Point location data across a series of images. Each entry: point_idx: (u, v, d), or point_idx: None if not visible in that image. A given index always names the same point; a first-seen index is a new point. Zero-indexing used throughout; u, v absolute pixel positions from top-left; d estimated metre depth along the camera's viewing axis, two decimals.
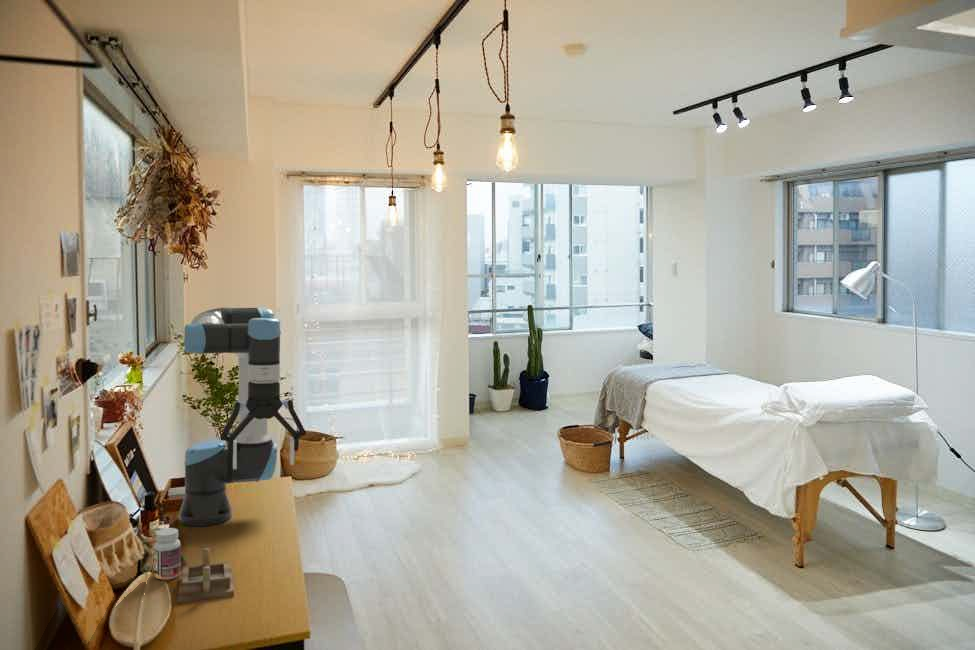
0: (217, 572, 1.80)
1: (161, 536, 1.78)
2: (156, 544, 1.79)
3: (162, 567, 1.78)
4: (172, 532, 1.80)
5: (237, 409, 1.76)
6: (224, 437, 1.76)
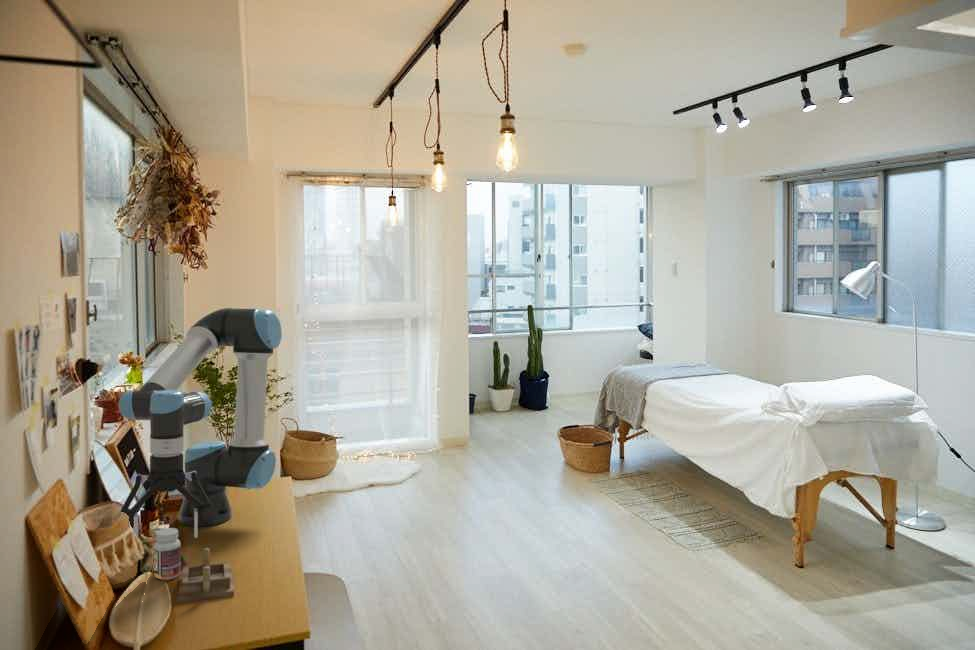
0: (217, 572, 1.80)
1: (161, 536, 1.78)
2: (156, 544, 1.79)
3: (162, 567, 1.78)
4: (172, 532, 1.80)
5: (138, 483, 1.76)
6: (124, 511, 1.75)
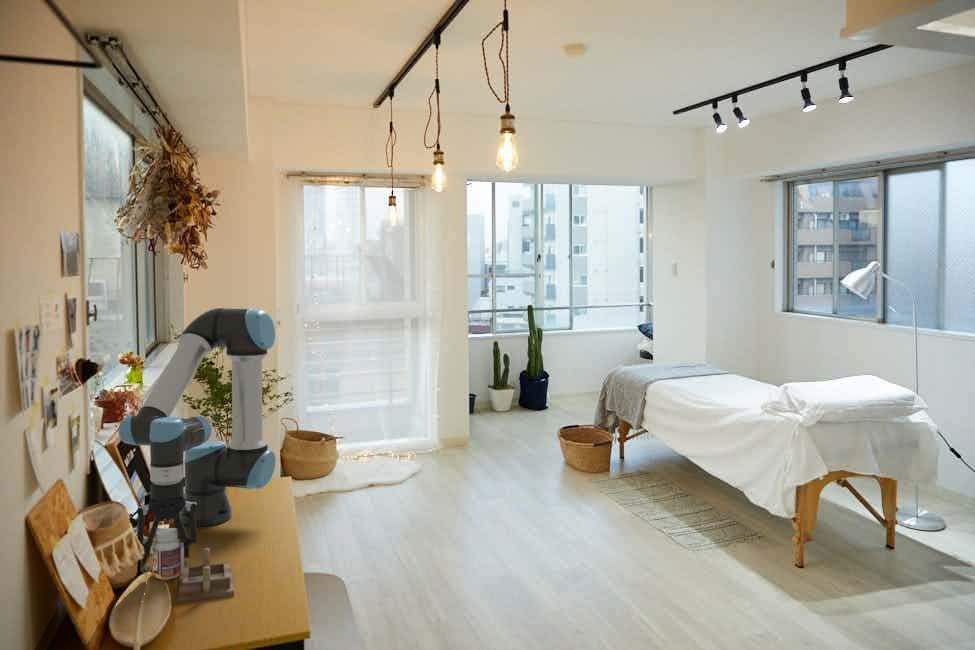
0: (217, 572, 1.80)
1: (161, 536, 1.78)
2: (156, 544, 1.79)
3: (162, 567, 1.78)
4: (172, 532, 1.80)
5: (141, 515, 1.77)
6: None
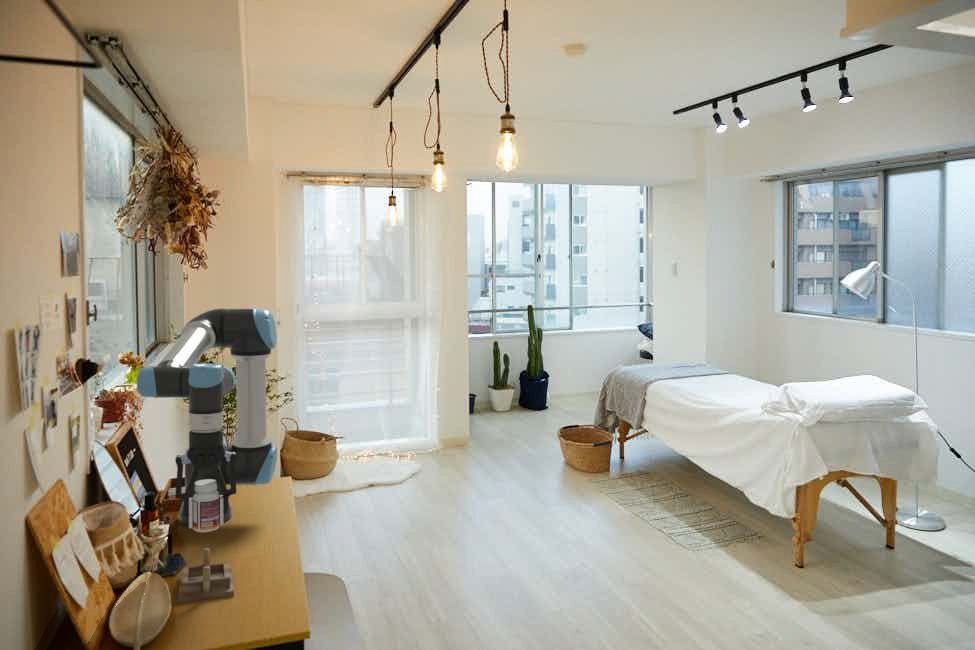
0: (217, 572, 1.80)
1: (200, 487, 1.71)
2: (195, 495, 1.72)
3: (201, 518, 1.71)
4: (211, 482, 1.73)
5: (180, 464, 1.70)
6: (179, 495, 1.70)
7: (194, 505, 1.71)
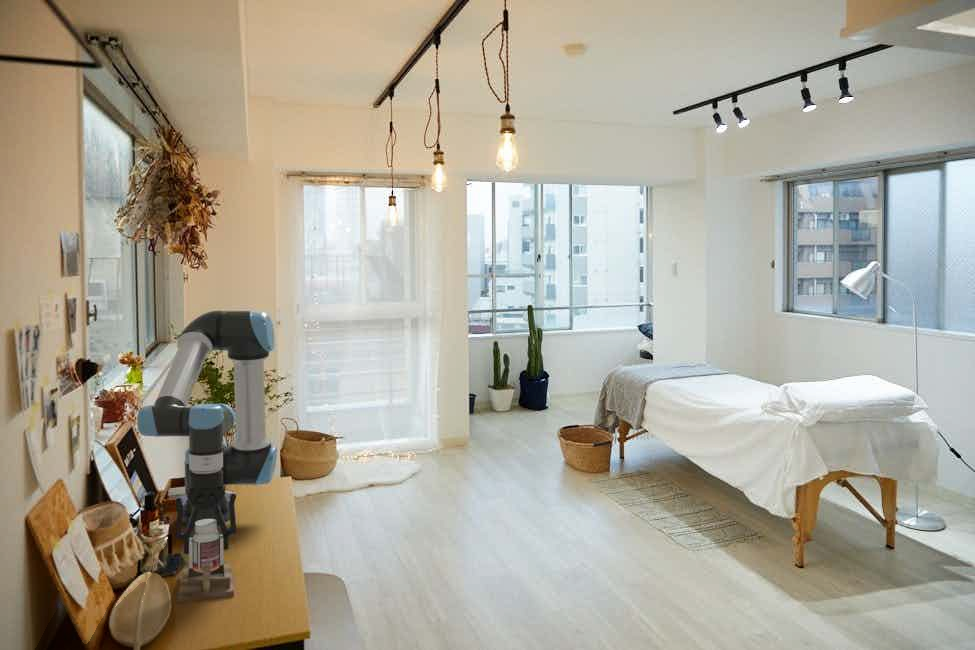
0: (217, 572, 1.80)
1: (201, 527, 1.72)
2: (195, 535, 1.72)
3: (201, 559, 1.72)
4: (211, 523, 1.74)
5: (180, 505, 1.71)
6: (179, 536, 1.71)
7: (194, 545, 1.72)
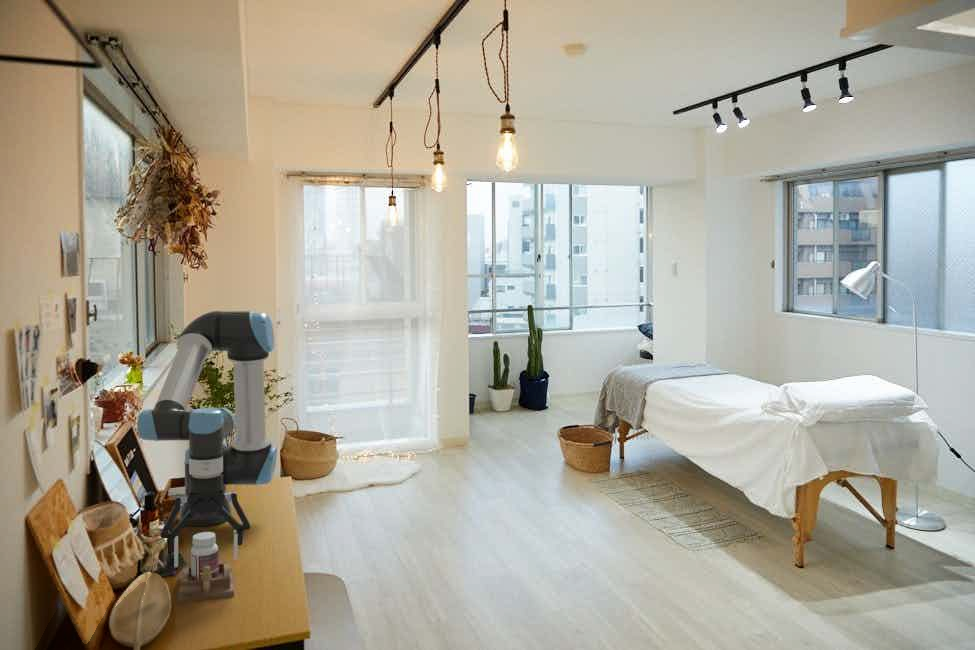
0: None
1: (199, 541, 1.72)
2: (193, 549, 1.73)
3: (200, 572, 1.72)
4: (209, 536, 1.74)
5: (177, 505, 1.70)
6: (164, 535, 1.70)
7: (193, 559, 1.72)
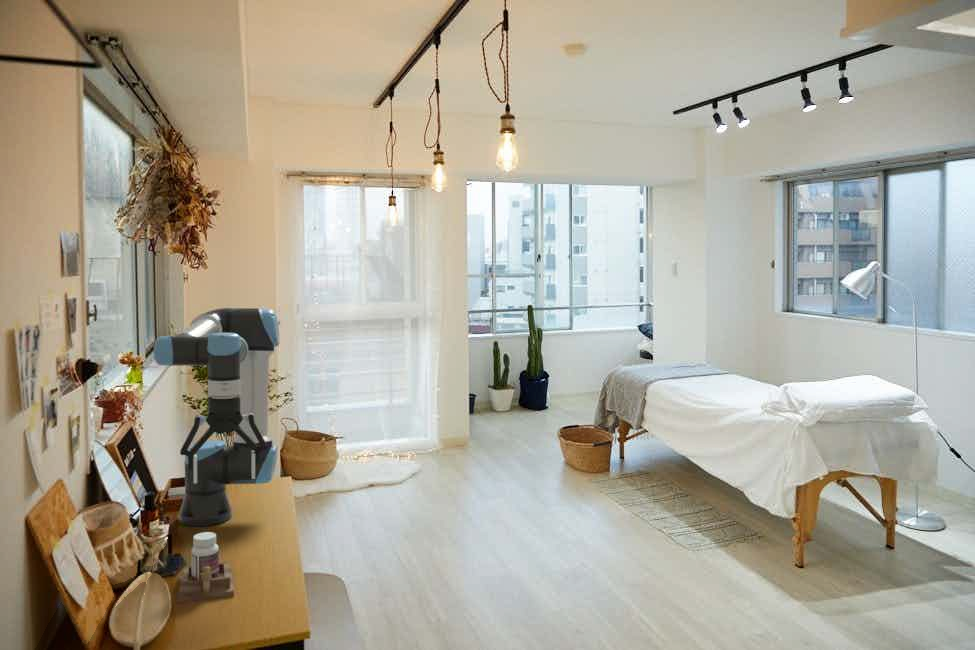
0: None
1: (200, 541, 1.72)
2: (194, 549, 1.73)
3: (200, 572, 1.72)
4: (210, 536, 1.74)
5: (197, 424, 1.77)
6: (184, 452, 1.77)
7: (193, 559, 1.72)
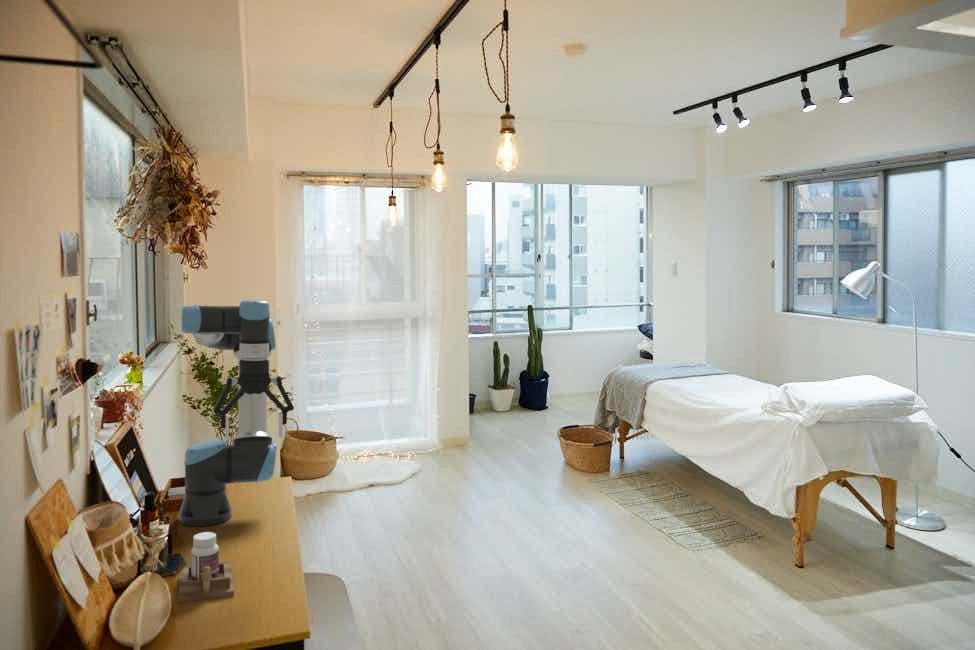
0: None
1: (200, 541, 1.72)
2: (194, 549, 1.73)
3: (201, 572, 1.72)
4: (210, 536, 1.74)
5: (229, 385, 1.90)
6: (217, 411, 1.89)
7: (193, 559, 1.72)
